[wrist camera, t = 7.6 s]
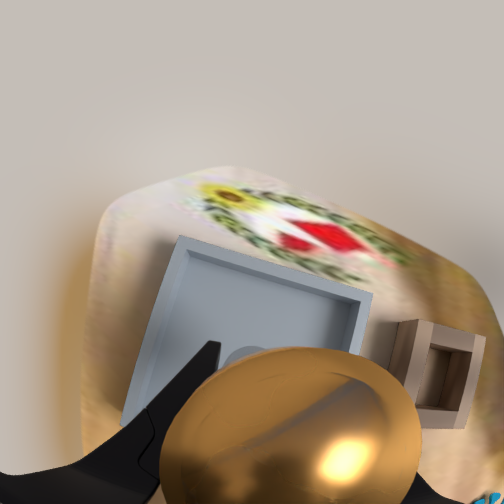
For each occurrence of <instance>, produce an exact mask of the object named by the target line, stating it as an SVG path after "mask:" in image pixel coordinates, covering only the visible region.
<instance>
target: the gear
mask: <svg viewBox="0 0 504 504" xmlns="http://www.w3.org/2000/svg"><path fill="white" fill-rule="evenodd" d="M500 496H501V494H500V493H493V494H491V495H490V497H489V504H494V503H495V502H496V501H497V500H498V499H499V498H500ZM484 503H485V500H484V499H481V500H478V501H476V502H474V503H473V504H484ZM501 504H504V499H503V501H502V503H501Z"/></svg>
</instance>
